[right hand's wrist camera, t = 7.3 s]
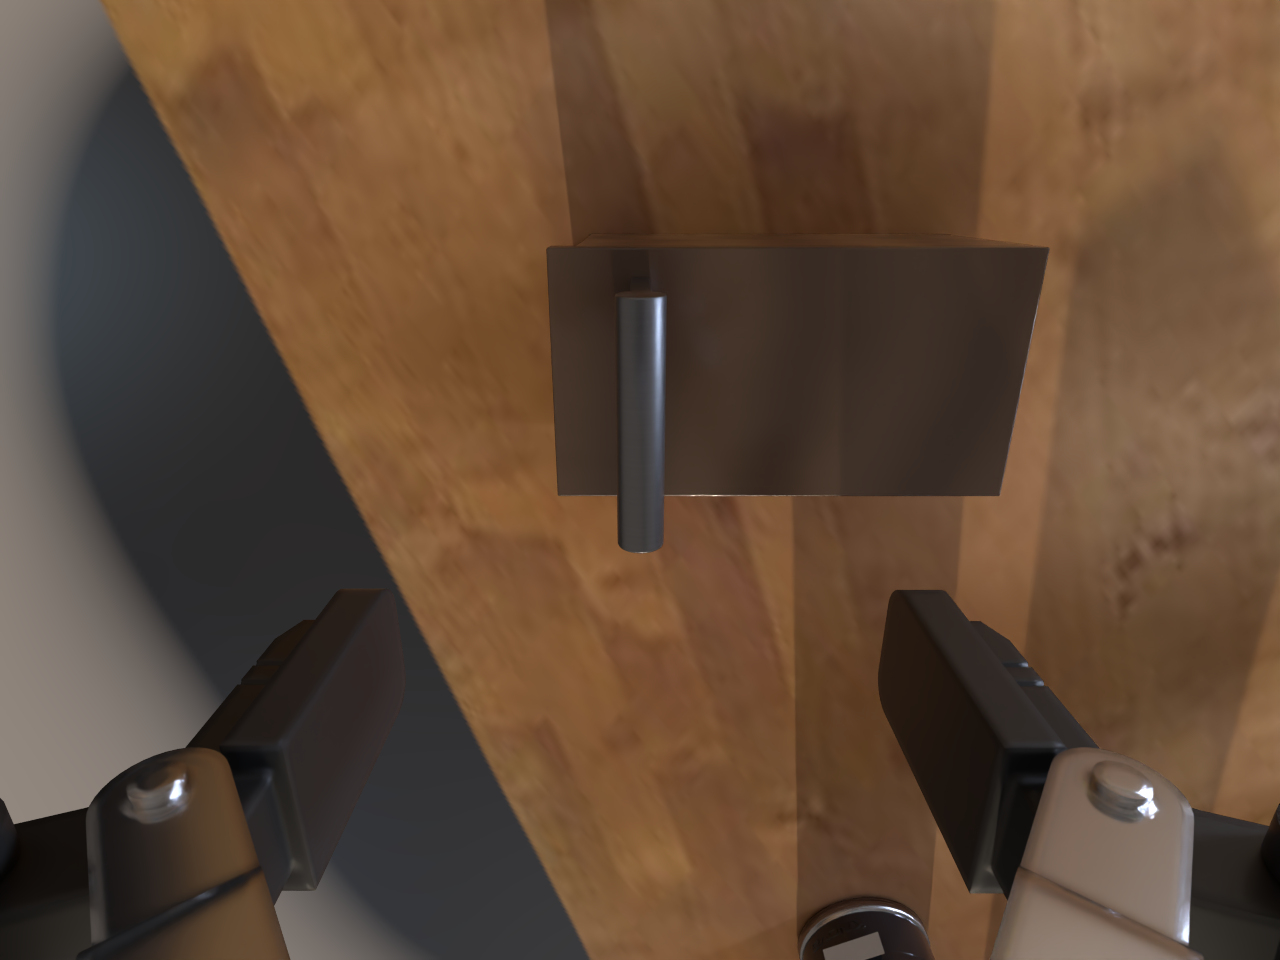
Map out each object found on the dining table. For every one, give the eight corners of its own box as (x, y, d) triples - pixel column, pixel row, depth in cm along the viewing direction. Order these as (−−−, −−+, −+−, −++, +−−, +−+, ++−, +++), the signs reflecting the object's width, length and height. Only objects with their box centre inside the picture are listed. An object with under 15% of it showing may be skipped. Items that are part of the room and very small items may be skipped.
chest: (594, 426, 38) (582, 487, 30) (589, 234, 35) (574, 245, 27) (916, 426, 38) (989, 487, 30) (945, 233, 35) (1035, 245, 27)
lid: (560, 487, 30) (534, 578, 23) (549, 245, 27) (515, 263, 19) (989, 487, 30) (1098, 578, 23) (1036, 245, 27) (1183, 263, 19)
